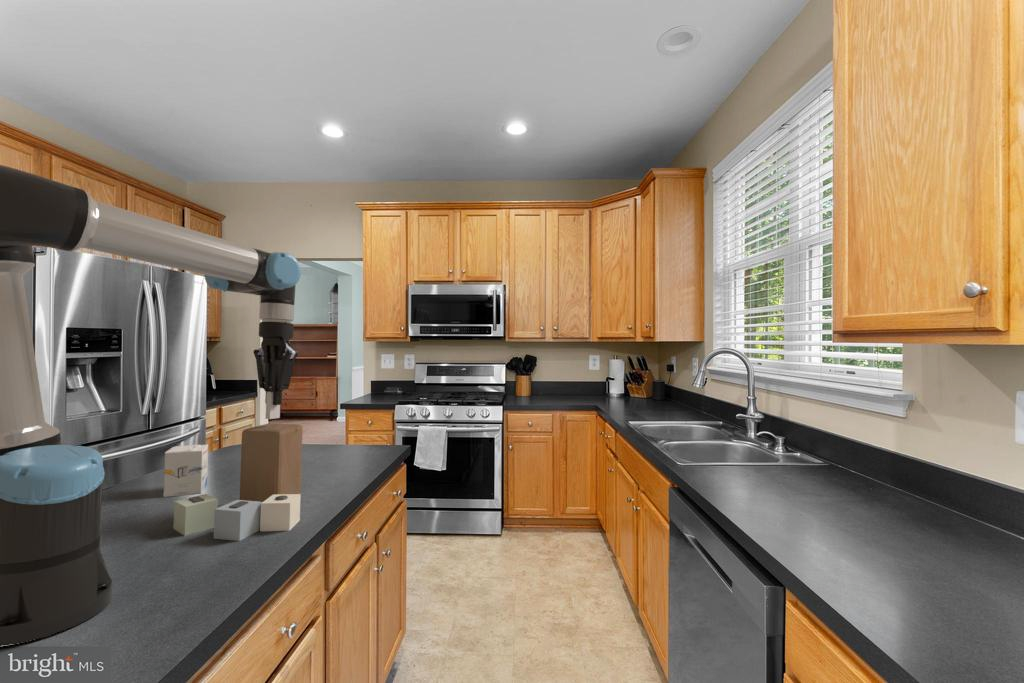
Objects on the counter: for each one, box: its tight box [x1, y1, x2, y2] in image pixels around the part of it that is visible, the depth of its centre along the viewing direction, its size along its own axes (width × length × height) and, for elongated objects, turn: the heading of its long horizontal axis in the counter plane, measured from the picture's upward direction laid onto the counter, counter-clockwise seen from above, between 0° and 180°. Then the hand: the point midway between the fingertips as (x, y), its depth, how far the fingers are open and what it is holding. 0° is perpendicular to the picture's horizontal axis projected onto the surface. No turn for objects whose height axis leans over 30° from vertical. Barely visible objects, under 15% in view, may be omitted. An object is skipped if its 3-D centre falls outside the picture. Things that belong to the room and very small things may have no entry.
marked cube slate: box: [213, 499, 262, 542], centre depth 94 cm, size 6×6×6 cm
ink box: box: [162, 443, 209, 498], centre depth 121 cm, size 9×8×12 cm
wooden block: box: [239, 423, 304, 502], centre depth 108 cm, size 10×10×20 cm
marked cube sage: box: [173, 493, 219, 537], centre depth 96 cm, size 6×6×6 cm
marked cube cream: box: [259, 493, 302, 532], centre depth 98 cm, size 6×6×6 cm
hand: (272, 418), depth 109 cm, fingers closed
